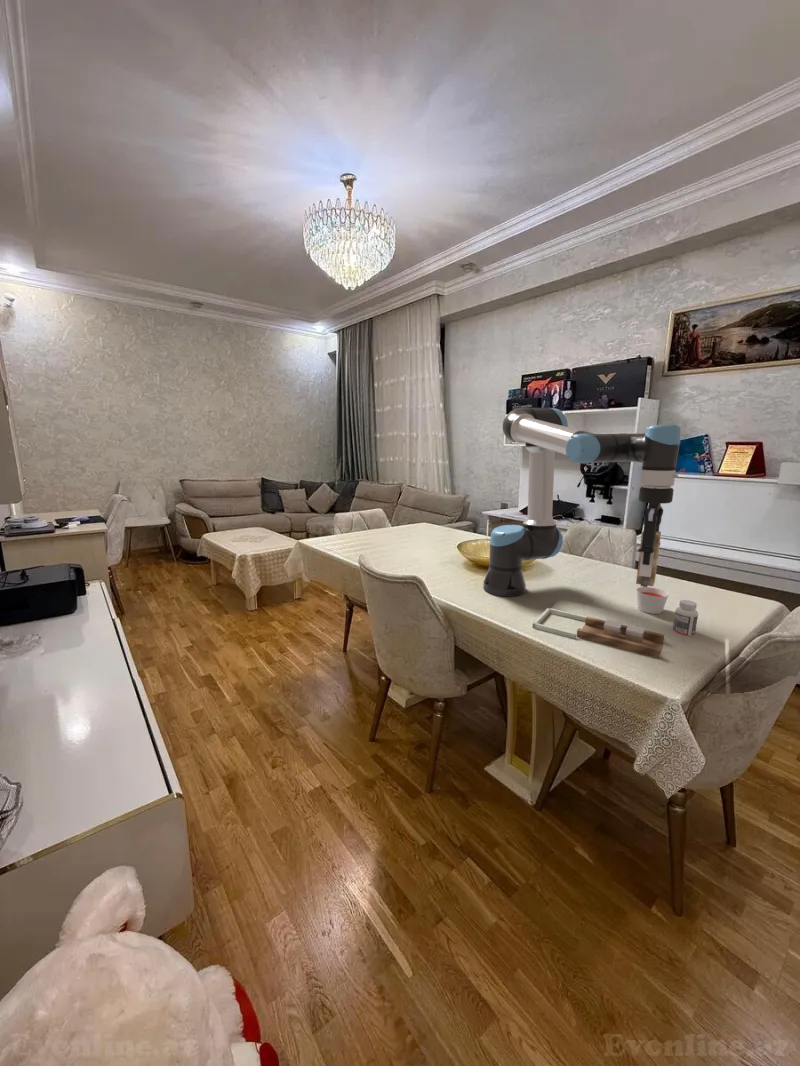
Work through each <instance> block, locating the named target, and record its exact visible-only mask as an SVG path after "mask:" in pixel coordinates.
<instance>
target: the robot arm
mask: <svg viewBox="0 0 800 1066" xmlns="http://www.w3.org/2000/svg"><path fill="white" fill-rule="evenodd" d="M502 432H503V434H504V436H505V437H506V438H507V439H508V440H509V441H511V442H514V443H517V444H525V446H524V448H525V449H526V450H527V451H528V452H529V454H528V455H529V457H528V458H529V459H528V491H527V492H528V493H527V517H526V519H525V520H524V521H523V522H522V525H519V524H505V525H504V524H503V525H500V526H496V527H495V528H493V529H492V531H491V533H490V538H489V539H490V540H489V559H488V560H489V564H488V565H489V566H488V570H487V571H486V574H485V578H484V579H483V585H482V586H483V590H484V591H485V592H486V593H489V594H492V595H494V596H498V597H499V596H501V597H517V596H521V595H524V594H525V593H526V587H527V585H526V581H525V578H524V575H523V574H524V573H523V570H522V569H523V562H524V561H532V560H533V561H534V560H541V559H542V560H546V559H548V558H554V557H555V556H557V554H559V552H560V551H561V549H562V547H563V543H564V539H563V538H564V537H563V534H562V531H561V530H560V528H559V527H558V526H557V522H556V521H555V520H554V519H553V506H554V505H553V504H554V503H553V499H554V482H555V481H554V477H555V455H556V453H559V454H560V455H565V456H566V457H567V458H568V460H569V461H570V462H571V463H573V464H574V463H575V464H583V465H585V464H586V465H587V464H592V463H619V462H620V463H623V462H625V463H629V462H630V463H632V462H633V463H642V464H641V466H642V467H641V474H640V482H639V484H640V485H641V486H640V487H639V493H638V500H639V502H641V503H648V506H647V507H646V508H645V509H644V512H643V515H644V519H643V525H644V526H643V530H642V532H643V539H642V547H641V549H640V548H638V551H637V552H638V553H640V552H641V560H640V569H639V576H645V577H651V572H652V563H653V555H654V550H653V548H654V542H655V535H656V531H658V532H660V527H661V526H660V525H661V523H662V517H663V515H664V508H663V506H661V504H662V505H663V504H670V503H672V502H673V498H674V489H673V486H674V485H675V481H676V480H675V479H677V478H679V474H678V473H676V472H677V471H676V470H677V463H678V462H677V461H678V457H679V451H680V445H681V426H679V425H678V424H652V425H648V426H647V427H646V429H645V432H644V433H632V432H631V433H627V432H626V433H625V432H624V433H622V432H621V433H593V432H589V431H586V430H585V431H584V430H581V429H577V428H573V427H569V423H568V419H567V417H566V415H565V414H564V412H563V411H562V410H560V409H558V408H553V407H518V408H517V407H516V408H515V409H513V410H511V411H510V412H509V413H508V414H506V415H505V417H504V419H503V421H502ZM645 546H648V547H645ZM660 546H661V544H660V545H659V547H660Z"/></svg>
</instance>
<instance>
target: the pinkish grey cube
mask: <svg viewBox="0 0 800 1066" xmlns="http://www.w3.org/2000/svg"><path fill="white" fill-rule="evenodd" d="M627 626H628V627H627V629H626V635H625V640H628V641H632V642H636V643H640V644H643V640H644V633H645V630H646V628H645V627H641V626H637V625H633V624H627Z"/></svg>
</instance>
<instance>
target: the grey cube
mask: <svg viewBox="0 0 800 1066" xmlns="http://www.w3.org/2000/svg"><path fill="white" fill-rule="evenodd" d="M605 621H606V622H605V624H604V629H603V634H604V635H608V636H612V637H616V638H620V637H621V632H622V625H624V624H623V622H620V621H615V620H611V619H606V620H605Z"/></svg>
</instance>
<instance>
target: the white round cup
mask: <svg viewBox="0 0 800 1066" xmlns="http://www.w3.org/2000/svg"><path fill="white" fill-rule="evenodd" d="M669 595H670V594H669V592H668V591H666V590H664V589H661V588H659V587H658V588H657V587H654V586H647V587H643V586H639V587H637V588H636V600H637V608H638V610H640V611H641V612H644V613H647V614H650V615H659V614H662V612H663V610H664V608H665V606H666V603H667V600H668V598H669Z"/></svg>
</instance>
